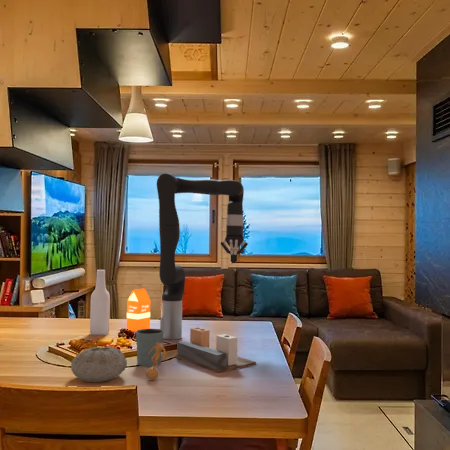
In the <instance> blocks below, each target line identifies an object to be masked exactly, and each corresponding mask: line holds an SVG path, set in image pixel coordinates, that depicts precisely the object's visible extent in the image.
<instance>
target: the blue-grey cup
mask: <svg viewBox="0 0 450 450" xmlns="http://www.w3.org/2000/svg"><path fill="white" fill-rule="evenodd" d="M135 339H136V353H137V355H136V361H137V365H138V366H140V367H144V368H145V367H147V368H150V367H152V365H153V364H154V363H153V362H152V360H151V358H152V357H153V356H154V353H156V349H155V348H154V349H153V350H152V351H151V352H150V350H151V349H152V348H153V347H154V346H156V343H157V342H158V343H160V344H163V340H164V339H163V330H160V329H159V328H150V329H140V330H137V331H136V332H135ZM149 352H150V353H149ZM148 354H149V355H148ZM154 361H155V359H154ZM157 362H158V365H157V366H160V365H161V363H162V351H161V352H160V357H159V359H158V360H157ZM155 366H156V362H155V365H154V367H155Z"/></svg>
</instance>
